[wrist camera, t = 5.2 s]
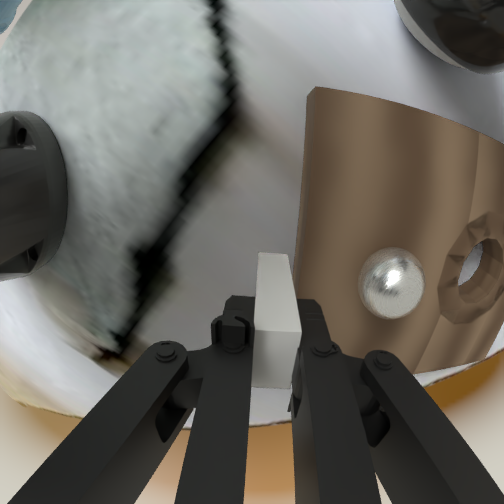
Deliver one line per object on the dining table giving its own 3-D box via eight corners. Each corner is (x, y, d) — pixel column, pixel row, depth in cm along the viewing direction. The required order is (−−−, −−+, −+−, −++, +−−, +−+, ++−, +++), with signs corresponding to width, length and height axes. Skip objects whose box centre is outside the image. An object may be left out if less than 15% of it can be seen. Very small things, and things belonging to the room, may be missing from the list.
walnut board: (281, 357, 22) (283, 382, 19) (306, 96, 15) (315, 86, 12) (471, 343, 22) (484, 359, 19) (522, 162, 14) (543, 167, 12)
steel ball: (344, 296, 16) (362, 335, 13) (356, 234, 15) (382, 263, 11) (398, 296, 16) (424, 331, 13) (412, 239, 15) (447, 266, 11)
